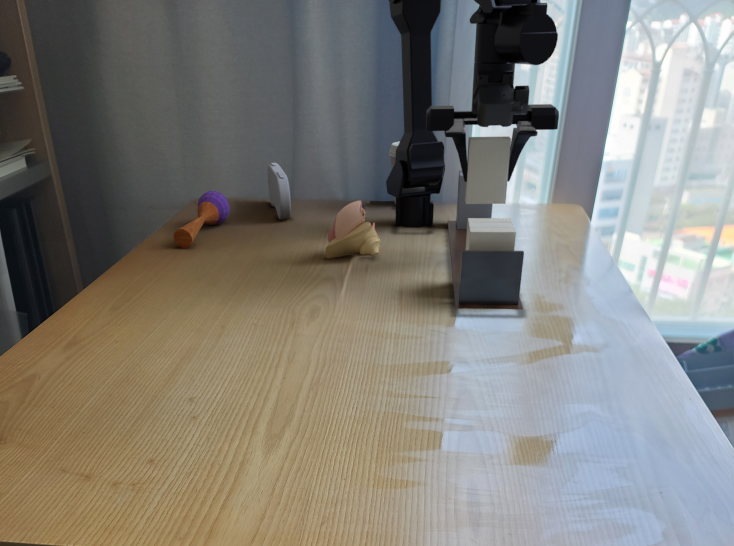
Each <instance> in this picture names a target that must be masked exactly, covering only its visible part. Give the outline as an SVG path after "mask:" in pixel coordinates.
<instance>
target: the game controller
mask: <svg viewBox="0 0 734 546" xmlns="http://www.w3.org/2000/svg"><path fill="white" fill-rule="evenodd" d="M289 183H290V182H289V179H288V176H287V174H286V173H285V171H284V170H283V169H282V167H281V166H280V165H279V163H277V162H270V163H269V164H268V165H267V187H268V195H269V201H270V205H271V206H272V207H274V208H275V210H276V213H277V217H278V219H279V220H289V219H291V215H292V201H291V200H292V199H291V190H290V184H289Z"/></svg>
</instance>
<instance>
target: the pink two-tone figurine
mask: <svg viewBox="0 0 734 546" xmlns="http://www.w3.org/2000/svg"><path fill="white" fill-rule="evenodd" d="M365 220H366V209H365V208H364V207H363V204H362V199H359V200H355V201H353V202H350V203H348V204H347V205H345V206H344V207H342V208H341V209H340V210H339V211H338V213H337V214H336V215H335V218H334V220H333V222H332V223H333V224H332V228H330V230H329V231H328V232H327V241H328V244H327V245H326V246H325V256H326V259H333V258H338V257H345V256H349V255H356V253H359V254H360V255H363V256H366V255H370V256H375V255H379V253H380V251H379V250H381V247H382V241H381V239H380V237H379V235H378V232H377V231H376V222H373V223H371V222H370V221H365Z"/></svg>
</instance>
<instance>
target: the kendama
mask: <svg viewBox="0 0 734 546" xmlns="http://www.w3.org/2000/svg"><path fill="white" fill-rule="evenodd" d="M229 203H230V202H229V201H228V199H227V197H226V196H225V195H224V194H223V193H221V192H218V191H217V190H208V191H205V192H204V193H202V194H201V196H200V197H199V198H198V201H197V205H196V206H197V210H196V212H197V218H195V219H194V220H192V221H190V222H188V223H187V224H184V225H183V226H180V228H178V229H176V230H175V231H174V233H173V241H174V242H175V245H177V246H178V247H179V248H181V249H187V248H189V247H190V246H191V245H192V244H193V242H194V241H195V239H196V237H197V235H198V234H199V232H200V230H201V229H202V226H204V224H205V225H220V224H222V223H224V222H225V221H226V220H227V219H228V217H229V215H230V212H231V210H230V204H229Z"/></svg>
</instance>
